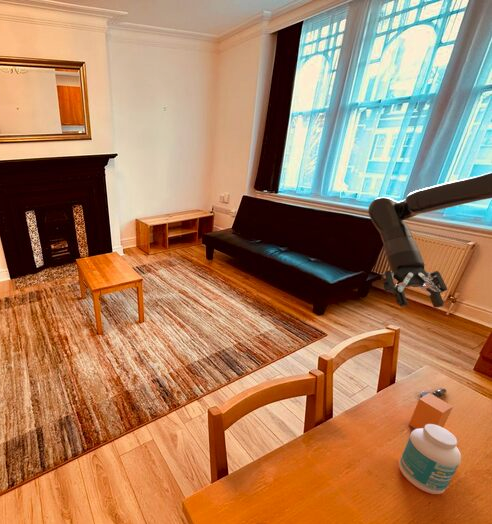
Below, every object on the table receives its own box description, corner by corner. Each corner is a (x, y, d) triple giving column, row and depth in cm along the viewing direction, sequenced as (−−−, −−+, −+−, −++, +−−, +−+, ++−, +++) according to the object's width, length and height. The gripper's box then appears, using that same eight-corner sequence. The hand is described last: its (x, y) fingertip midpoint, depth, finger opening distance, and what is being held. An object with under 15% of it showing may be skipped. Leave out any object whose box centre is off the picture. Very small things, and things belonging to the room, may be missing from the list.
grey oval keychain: (434, 386, 83) (436, 383, 82) (452, 396, 79) (454, 392, 79) (416, 396, 80) (418, 393, 79) (434, 407, 76) (436, 403, 76)
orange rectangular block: (418, 418, 73) (429, 392, 70) (441, 432, 69) (453, 406, 66) (408, 424, 72) (419, 398, 69) (430, 439, 68) (442, 412, 65)
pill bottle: (428, 501, 56) (451, 457, 51) (389, 465, 63) (406, 423, 58) (453, 489, 58) (477, 445, 53) (413, 455, 65) (431, 413, 60)
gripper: (384, 249, 81) (402, 302, 74) (439, 249, 79) (463, 303, 72) (369, 259, 88) (384, 309, 81) (419, 260, 85) (439, 310, 79)
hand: (421, 306), depth 77 cm, fingers open, 8 cm apart
